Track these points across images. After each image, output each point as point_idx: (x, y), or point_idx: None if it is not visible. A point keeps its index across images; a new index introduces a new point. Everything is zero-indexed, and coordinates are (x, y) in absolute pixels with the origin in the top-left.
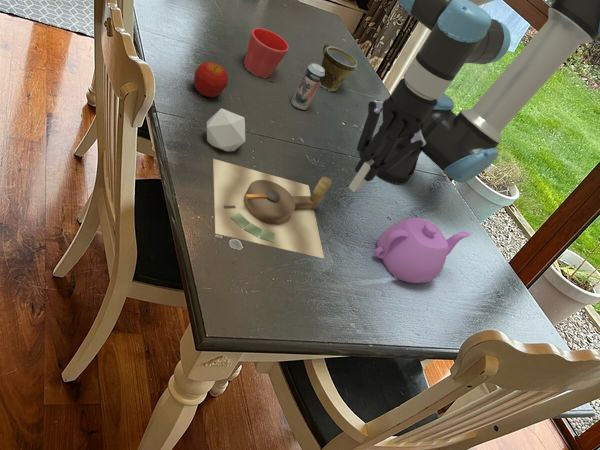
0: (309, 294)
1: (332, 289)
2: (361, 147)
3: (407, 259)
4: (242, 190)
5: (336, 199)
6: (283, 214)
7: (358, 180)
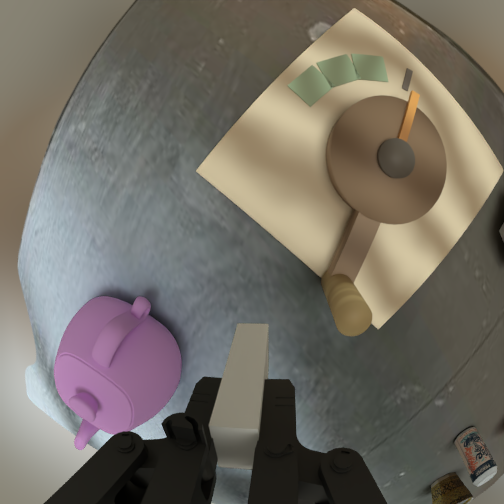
0: (157, 85)
1: (141, 141)
2: (337, 478)
3: (79, 318)
4: None
5: (318, 367)
6: (336, 134)
7: (241, 356)
